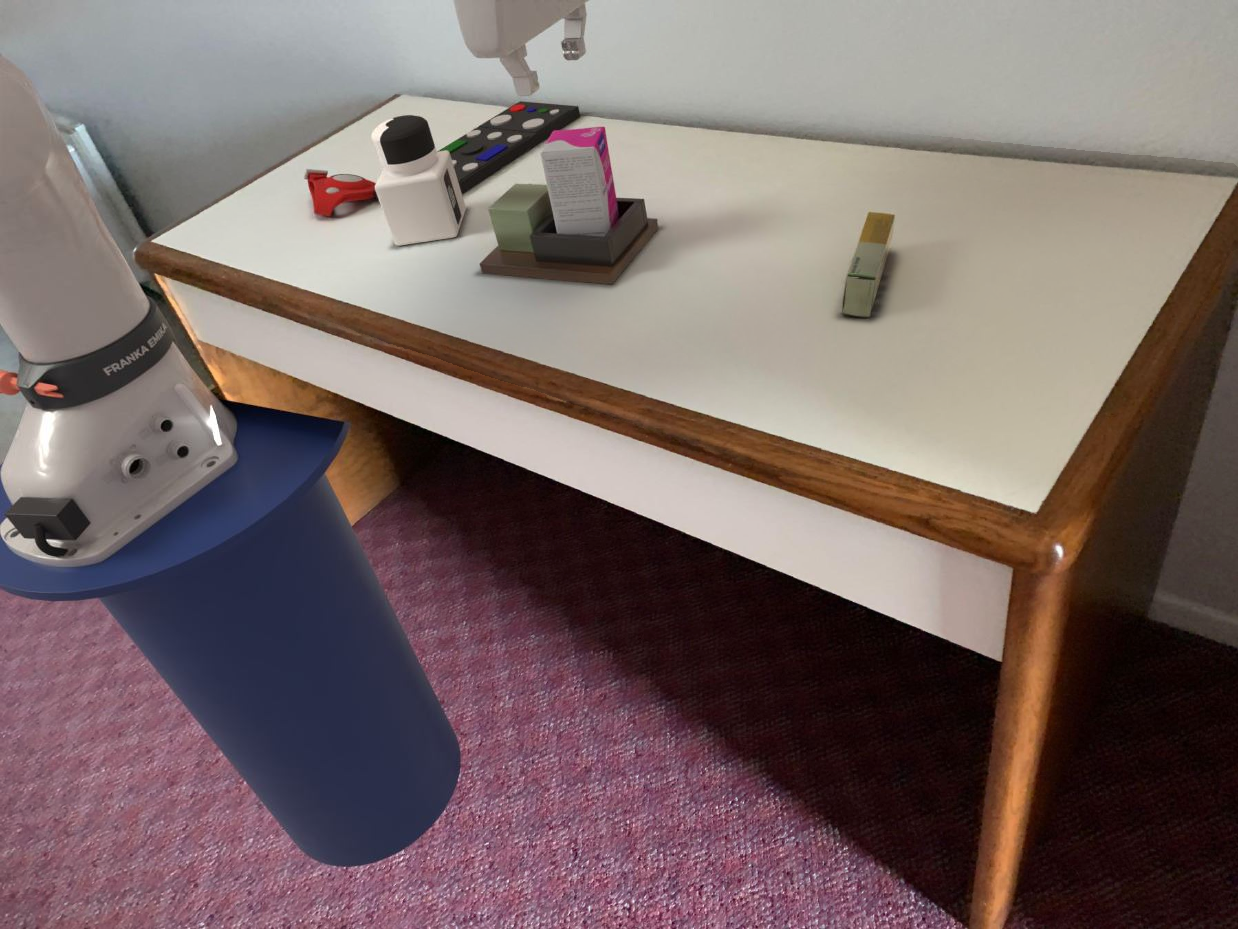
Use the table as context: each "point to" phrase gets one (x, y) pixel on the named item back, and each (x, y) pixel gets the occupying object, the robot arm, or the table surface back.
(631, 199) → the desk organizer
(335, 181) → the red plastic curved piece
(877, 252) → the medication box
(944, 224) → the table surface
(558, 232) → the supplement box
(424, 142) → the container
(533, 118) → the remote control
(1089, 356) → the table surface
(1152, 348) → the table surface
